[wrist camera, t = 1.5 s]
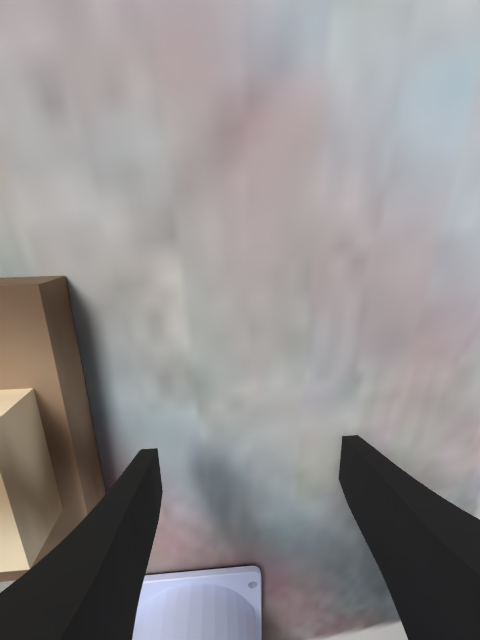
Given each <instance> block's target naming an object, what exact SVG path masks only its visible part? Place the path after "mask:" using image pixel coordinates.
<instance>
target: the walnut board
mask: <svg viewBox="0 0 480 640" xmlns="http://www.w3.org/2000/svg"><path fill="white" fill-rule="evenodd" d="M27 388H33V389H34V393H35V397H36V401H37V405H38V409H39V414H40V418H41V422H42V426H43V430H44V434H45V438H46V442H47V447H48V451H49V455H50V459H51V463H52V467H53V471H54V475H55V480H56V484H57V488H58V492H59V496H60V500H61V504H62V509H63V510H62V512H61V514H60V516H59V517H58V519H57V521H56V523H55V525H54V526H53V528H52V530H51V532H50V534H49V536H48V537H47V539H46V541H45V543H44V545H43V547H42V548H41V550H40V552H39V554H38V556H37V558H36V559H35V561H34V563H33V565H32V567H33V566H34V565H35V564H37V563H38V562H39V561H40V560H41V559H42V558H43V557H45V556H46V555H47V554H48V553H49V552H50V551H51V550H53V549H54V548H55V547H56V546H57V545H58V544H59V543H60V542H61V541H62V540H63V539H64V538H65V537H66V536H67V535H68V534H69V533H70V532H71V531H72V530H73V529H74V528H75V527H76V526H77V525H78V524H79V523H80V522H81V521H82V520H83V519H84V518H85V517H86V516H87V515H88V514H89V513H90V511H91V510H92V509H93V508H94V507H95V506H96V505H97V504H98V502H99V501H100V500H101V499H102V498H103V497H104V496H105V494H106V492H105V486H104V481H103V476H102V470H101V465H100V459H99V454H98V449H97V443H96V438H95V433H94V427H93V422H92V417H91V411H90V406H89V401H88V395H87V390H86V385H85V379H84V374H83V369H82V363H81V358H80V352H79V347H78V342H77V336H76V331H75V326H74V320H73V315H72V310H71V304H70V299H69V294H68V288H67V283H66V278H65V276H46V277H15V278H0V390H8V389H27ZM32 567H31V568H32ZM27 571H28V570H19V571H8V572H0V582H3V581H14V580H17V579H19V578H20V577H21V576H22V575H24V574H25V573H26V572H27Z"/></svg>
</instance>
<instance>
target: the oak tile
mask: <svg viewBox="0 0 480 640" xmlns="http://www.w3.org/2000/svg"><path fill="white" fill-rule="evenodd" d="M62 510H63V509H62V504H61V500H60V496H59V492H58V488H57V484H56V480H55V475H54V471H53V467H52V463H51V459H50V455H49V451H48V447H47V442H46V438H45V434H44V430H43V426H42V422H41V418H40V414H39V409H38V405H37V401H36V397H35V393H34V389H33V388H27V389H8V390H0V572H8V571H19V570H30V569H31V567H32V565H33V563H34V561H35V559H36V558H37V556H38V554H39V552H40V550H41V548H42V547H43V545H44V543H45V541H46V539H47V537H48V536H49V534H50V532H51V530H52V528H53V526H54V525H55V523H56V521H57V519H58V517H59V516H60V514H61V512H62Z"/></svg>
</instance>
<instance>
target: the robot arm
mask: <svg viewBox="0 0 480 640" xmlns="http://www.w3.org/2000/svg"><path fill="white" fill-rule="evenodd" d="M339 481H340V483H341V486H342V489H343V492H344V495H345V498H346V500H347V503H348V505H349V508H350V510H351V512H352V514H353V516H354V518H355V520H356V522H357V524H358V526H359V528H360V530H361V532H362V534H363V536H364V538H365V540H366V542H367V544H368V546H369V548H370V550H371V552H372V554H373V556H374V558H375V560H376V562H377V564H378V566H379V568H380V570H381V573H382V575H383V577H384V579H385V581H386V584H387V586H388V589H389V591H390V594H391V596H392V599H393V601H394V604H395V606H396V609H397V611H398V614H399V616H400V619H401V621H402V624H403V627H404V629H405V632H406V634H407V637H408V640H480V520H479V519H478V518H476V517H474V516H472V515H470V514H469V513H467V512H465V511H463V510H462V509H460V508H459V507H457V506H455V505H454V504H452V503H450V502H449V501H447V500H445V499H444V498H442V497H441V496H439V495H437V494H436V493H434V492H433V491H431V490H430V489H429V488H427V487H426V486H424V485H423V484H421V483H420V482H418V481H417V480H415V479H414V478H413V477H411V476H410V475H409V474H407V473H406V472H404V471H403V470H402V469H400V468H399V467H398V466H396V465H395V464H394V463H393V462H391V461H390V460H389V459H387V458H386V457H385V456H384V455H382V454H381V453H380V452H378V451H377V450H376V449H375V448H373V447H372V446H371V445H370V444H368V443H367V442H366V441H365V440H363V439H362V438H361V437H359V436H358V435H354V436H342V447H341V459H340V470H339ZM162 492H163V491H162V483H161V474H160V466H159V458H158V449H157V448H156V449H141V450H140V451H139V452H138V454H137V455H136V456H135V458H134V459H133V460H132V462H131V463H130V464H129V466H128V467H127V468H126V470H125V471H124V472H123V473H122V475H121V476H120V477H119V479H118V480H117V481H116V482H115V483H114V485H113V486H112V487H111V488H110V490H109V491H108V492H107V493H106V494H105V496H104V497H103V498H102V499H101V500H100V501H99V502H98V504H97V505H96V506H95V507H94V508H93V509H92V510H91V511H90V513H89V514H88V515H87V516H86V517H85V518H84V519H83V520H82V521H81V522H80V523H79V524H78V525H77V526H76V527H75V528H74V529H73V530H72V531H71V532H70V533H69V534H68V535H67V536H66V537H65V538H64V539H63V540H62V541H61V542H60V543H59V544H58V545H57V546H56V547H55V548H54V549H53V550H51V551H50V552H49V553H48V554H47V555H46V556H45V557H43V558H42V559H41V560H40V561H39V562H38V563H37V564H35V565H34V566H33V567H32V568H31V569H30V570H28V571H27V572H26V573H25V574H24V575H22V576H21V577H20V578H19V579H17V580H16V581H15V582H14V583H12V584H11V585H10V586H9V587H7V588H6V589H5V590H4V591H2V592H1V593H0V640H262V627H261V571H260V569H259V568H258V567H257V566H242V567H231V568H220V569H209V570H198V571H187V572H176V573H165V574H154V575H145V573H146V569H147V565H148V561H149V557H150V553H151V549H152V545H153V541H154V537H155V533H156V529H157V525H158V520H159V514H160V507H161V499H162Z"/></svg>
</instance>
